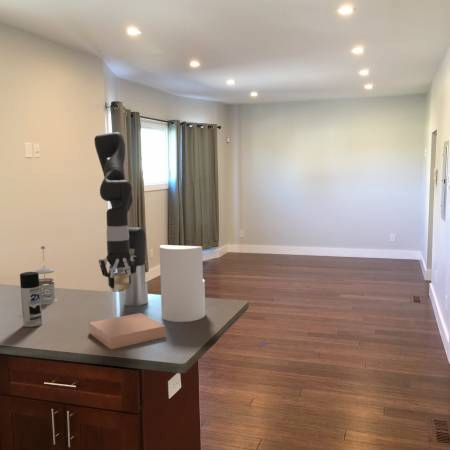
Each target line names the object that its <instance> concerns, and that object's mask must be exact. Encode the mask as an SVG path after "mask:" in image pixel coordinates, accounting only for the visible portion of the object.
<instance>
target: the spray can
mask: <svg viewBox="0 0 450 450" xmlns="http://www.w3.org/2000/svg"><path fill="white" fill-rule="evenodd" d="M39 276H40V275H39V274H38V272H35V271H26V272H21V273H20V274H19V280H20V281H19V284H20V296H21V299H20V300H21V307H22V308H21V309H22V310H21V311H22V321H23V322H22V324H23V326H24V327H25V328H35V327H39V326H41V325H43V320H42V319H43V317H42V304H41V300H40V286H39V279H40V277H39Z"/></svg>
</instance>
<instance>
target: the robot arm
mask: <svg viewBox="0 0 450 450" xmlns="http://www.w3.org/2000/svg"><path fill="white" fill-rule="evenodd" d="M94 146H95V150H96V154H97V157H98V159H99V160H98V161H99V163H100V167H101V169H102V173H103V176H104V178H103V180H102V182H101V184H100V188H99V196H100V197H101V199H102V200H103V201H105V202H109V203H110V207H111V208H108V209H107V210H106V252H107V254H106V255H107V256H106V257H105V258H102V259H98V265H99V267H100V270H101V274H102V276H104V277H105V278H107V281H108V287H109V288H110V289H112V290H114V289H113V288H114V278H113V276H114V273H116V271H117V269H119V268H122V269H123V270H122V272H125V273H127V274H129V289H123V293H124V306H128V307H138V306H143V305H146V304H148V303H149V294H148V291H149V290H148V281H147V280H146V262H145V261H146V240H147V239H146V232H145V229H144V228H142V227H137V226H136V227H133V226H132V227H129V225H128V221H129V220H128V219H129V218H128V213H129V211H130V209H131V207H132V203H133V193H132V191H133V188H132V184H131V182H129V180H126V177H125V168H124V166H125V159H126V143H125V139H124V136H123V134H122V133H120V132H119V131H116V132H115V131H114V132H113V131H112V132H107V133H102V134H97V135H95V136H94ZM108 158H109V159H108ZM130 249H131V250H134V251H133V254H131V253H130ZM108 263H109V267H108V270H107V264H108Z"/></svg>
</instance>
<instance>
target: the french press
mask: <svg viewBox="0 0 450 450" xmlns="http://www.w3.org/2000/svg"><path fill="white" fill-rule="evenodd" d="M40 249H41V250H42V254H43V255H42V259H43V260H45V256H44V255H45V253H44V250H45V249H46V247H45V245H43V246H40ZM54 271H55V269H52V268H50V267H46V266H43V267H40V268H38V269H36V270H35V271H34V272H38V274H40V275H43V274H44V278H39V286H40V300H41V305H49V304H54V303H56V302H58V298H56V292H55V289H56V287H55V282H54V279H53V278H51V277H48V278H46V275H47V274H51V273H54Z"/></svg>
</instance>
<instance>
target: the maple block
mask: <svg viewBox="0 0 450 450" xmlns="http://www.w3.org/2000/svg"><path fill="white" fill-rule="evenodd" d="M113 278H114V288H113V289H112V290H113V291H120V290H121V291H122V290H123V291H124V289H129V274H127V273H125V272H123V271H121V272H115V273H114V276H113Z"/></svg>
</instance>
